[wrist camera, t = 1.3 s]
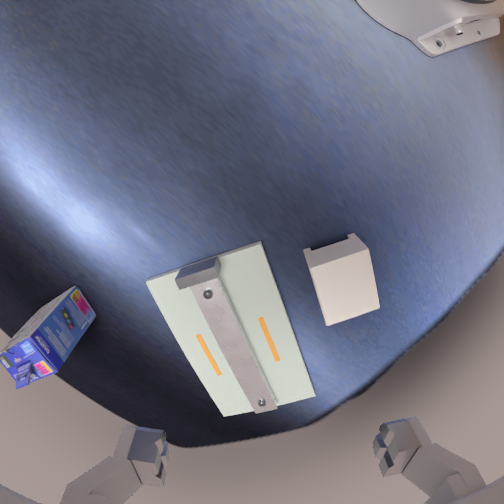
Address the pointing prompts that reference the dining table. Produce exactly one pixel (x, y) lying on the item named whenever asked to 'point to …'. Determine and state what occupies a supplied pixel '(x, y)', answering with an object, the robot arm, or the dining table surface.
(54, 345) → the ink cartridge box
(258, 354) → the mounting board
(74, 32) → the dining table surface
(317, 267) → the block
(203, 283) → the rail
